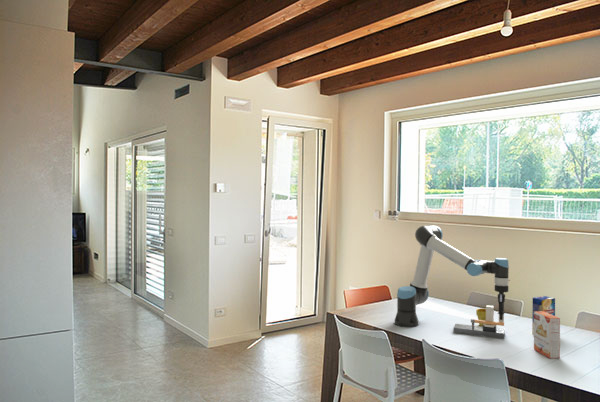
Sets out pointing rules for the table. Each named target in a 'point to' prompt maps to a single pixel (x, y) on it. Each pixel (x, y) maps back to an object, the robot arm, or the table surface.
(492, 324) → the orange rectangular bar
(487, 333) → the power strip
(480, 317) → the plant pot
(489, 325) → the plug
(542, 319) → the cracker box
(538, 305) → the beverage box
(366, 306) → the table surface
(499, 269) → the robot arm
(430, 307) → the table surface
